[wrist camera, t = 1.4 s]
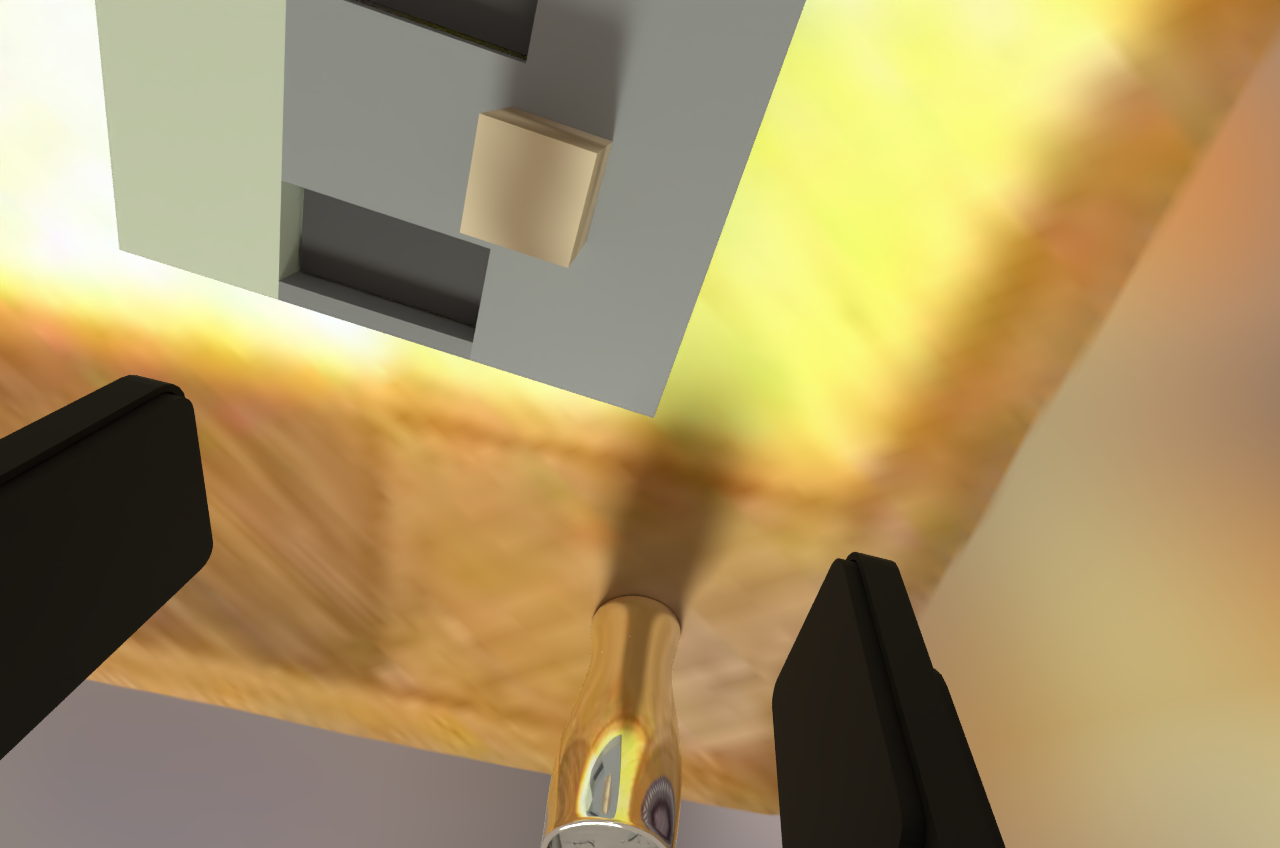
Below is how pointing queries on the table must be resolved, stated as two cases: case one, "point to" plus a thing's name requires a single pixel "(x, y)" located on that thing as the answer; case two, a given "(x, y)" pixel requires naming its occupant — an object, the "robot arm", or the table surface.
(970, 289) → the table surface
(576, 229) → the maple cube
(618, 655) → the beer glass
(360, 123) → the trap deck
